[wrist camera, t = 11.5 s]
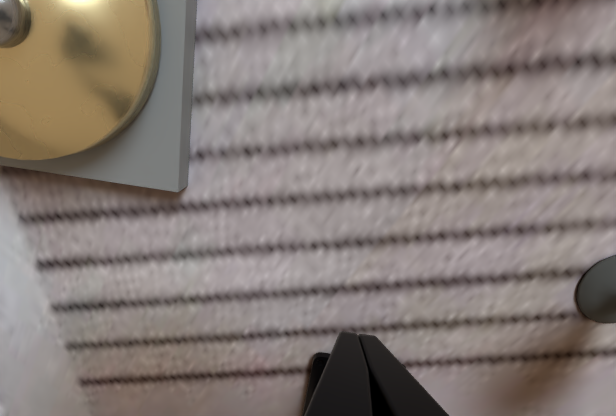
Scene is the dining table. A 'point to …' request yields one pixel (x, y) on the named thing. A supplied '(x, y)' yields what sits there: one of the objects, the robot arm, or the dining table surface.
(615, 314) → the sundae
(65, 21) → the handwheel
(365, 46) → the dining table surface
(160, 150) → the base plate
